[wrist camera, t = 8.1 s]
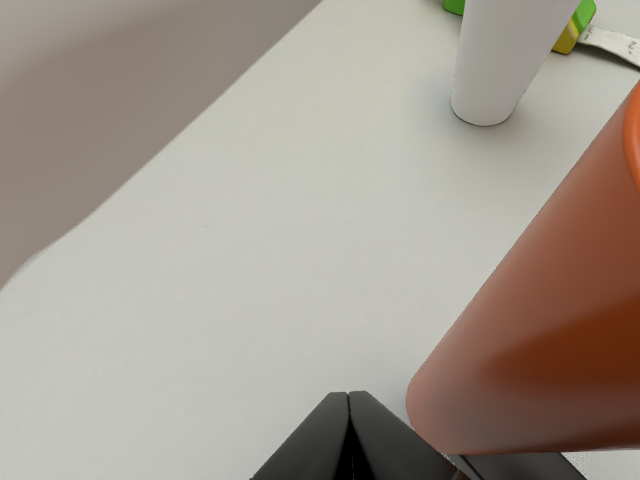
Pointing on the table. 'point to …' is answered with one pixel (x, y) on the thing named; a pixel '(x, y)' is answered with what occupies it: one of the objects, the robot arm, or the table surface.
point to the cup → (503, 53)
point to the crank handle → (549, 331)
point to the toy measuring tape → (581, 32)
